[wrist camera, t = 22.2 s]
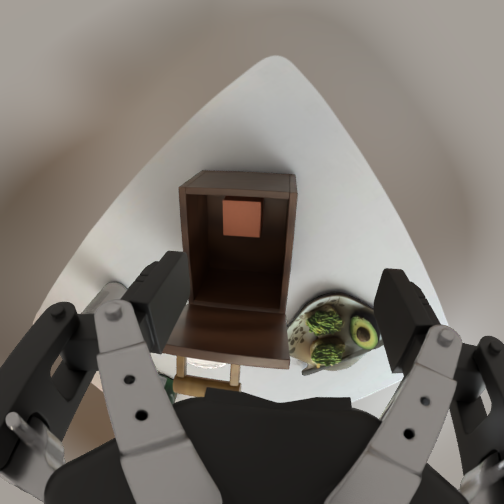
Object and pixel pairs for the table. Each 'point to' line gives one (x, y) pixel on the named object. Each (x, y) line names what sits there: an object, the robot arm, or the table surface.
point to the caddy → (238, 241)
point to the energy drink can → (105, 296)
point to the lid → (226, 344)
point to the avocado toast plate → (333, 333)
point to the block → (243, 216)
